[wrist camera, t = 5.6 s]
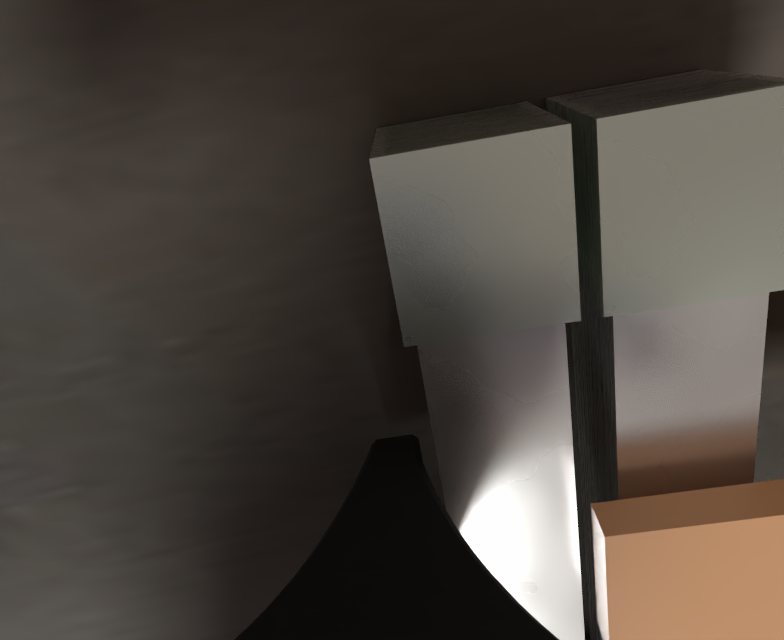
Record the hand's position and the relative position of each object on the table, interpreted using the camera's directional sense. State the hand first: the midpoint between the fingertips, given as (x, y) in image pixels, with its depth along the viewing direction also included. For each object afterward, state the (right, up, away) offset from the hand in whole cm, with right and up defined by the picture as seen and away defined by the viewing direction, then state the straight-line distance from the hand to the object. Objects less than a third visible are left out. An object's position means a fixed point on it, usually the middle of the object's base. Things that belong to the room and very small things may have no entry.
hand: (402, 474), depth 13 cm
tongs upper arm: (+4, -2, +2) cm, 5 cm away
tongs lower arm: (+5, 0, +2) cm, 6 cm away
